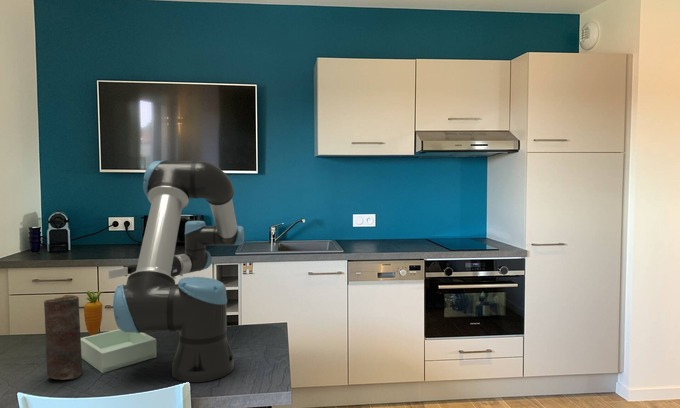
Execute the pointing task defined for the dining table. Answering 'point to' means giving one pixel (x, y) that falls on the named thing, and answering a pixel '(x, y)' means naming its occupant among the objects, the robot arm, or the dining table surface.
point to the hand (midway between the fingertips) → (122, 276)
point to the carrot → (93, 313)
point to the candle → (63, 337)
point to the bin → (117, 349)
